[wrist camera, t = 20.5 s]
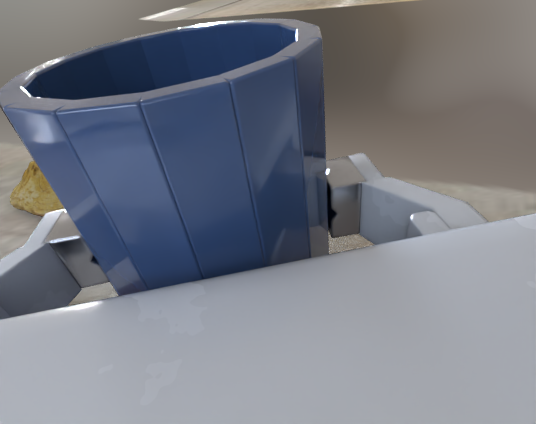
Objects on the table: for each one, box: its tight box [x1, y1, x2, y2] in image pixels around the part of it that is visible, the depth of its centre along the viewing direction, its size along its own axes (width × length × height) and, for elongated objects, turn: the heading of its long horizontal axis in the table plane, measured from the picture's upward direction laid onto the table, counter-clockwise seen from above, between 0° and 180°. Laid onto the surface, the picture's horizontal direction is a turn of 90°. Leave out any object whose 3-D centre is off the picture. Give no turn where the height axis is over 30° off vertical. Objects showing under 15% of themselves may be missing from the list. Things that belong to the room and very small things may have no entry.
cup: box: [0, 19, 329, 296], centre depth 10 cm, size 6×6×10 cm
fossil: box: [10, 161, 64, 217], centre depth 34 cm, size 11×6×10 cm
